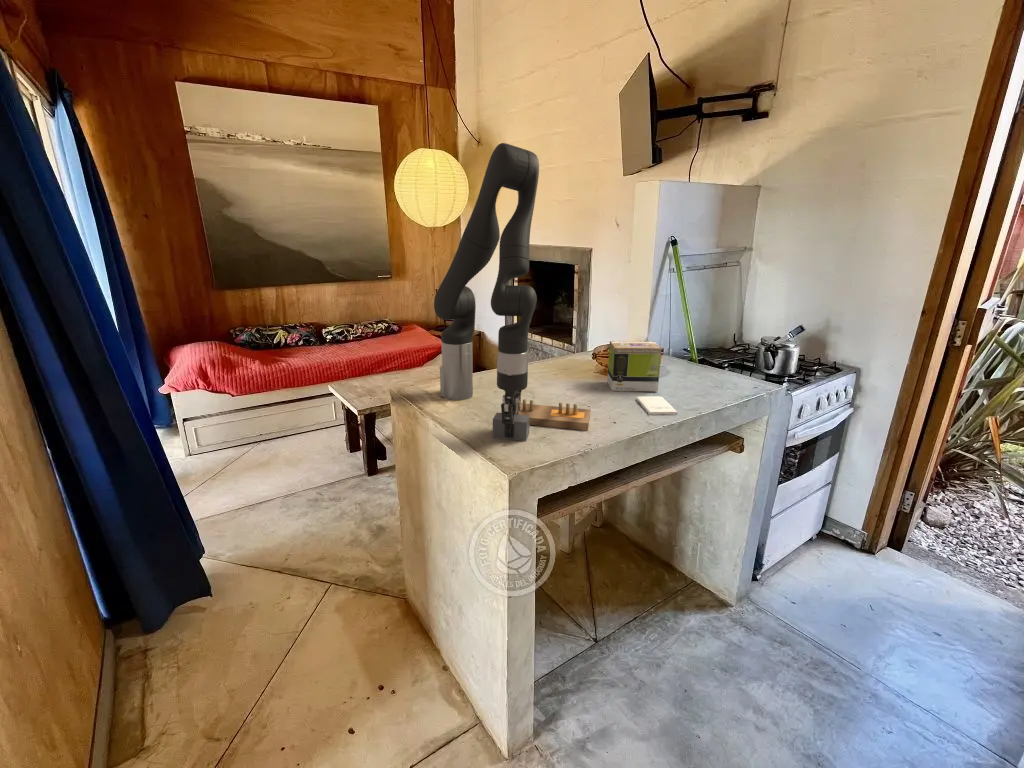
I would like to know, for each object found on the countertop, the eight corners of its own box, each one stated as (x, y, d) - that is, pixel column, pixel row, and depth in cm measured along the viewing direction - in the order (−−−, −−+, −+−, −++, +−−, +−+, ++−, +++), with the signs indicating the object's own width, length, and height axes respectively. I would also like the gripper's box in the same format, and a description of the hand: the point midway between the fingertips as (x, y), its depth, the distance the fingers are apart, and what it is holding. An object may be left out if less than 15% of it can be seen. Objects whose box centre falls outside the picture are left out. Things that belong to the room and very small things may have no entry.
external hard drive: (661, 401, 153) (677, 416, 141) (635, 401, 152) (649, 416, 140) (662, 396, 152) (677, 411, 140) (636, 396, 152) (649, 411, 140)
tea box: (650, 382, 168) (655, 340, 163) (657, 392, 158) (663, 348, 154) (606, 381, 168) (609, 339, 163) (610, 391, 159) (614, 347, 154)
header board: (506, 422, 133) (506, 405, 132) (513, 409, 143) (513, 392, 141) (588, 430, 129) (589, 412, 128) (590, 416, 139) (591, 399, 137)
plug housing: (492, 437, 124) (492, 419, 122) (496, 430, 128) (496, 412, 127) (526, 441, 122) (526, 422, 121) (529, 433, 127) (529, 415, 125)
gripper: (503, 359, 127) (502, 420, 132) (490, 376, 114) (490, 443, 119) (532, 361, 125) (530, 423, 131) (522, 378, 112) (520, 446, 118)
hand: (511, 432), depth 125 cm, fingers closed on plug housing, 4 cm apart
